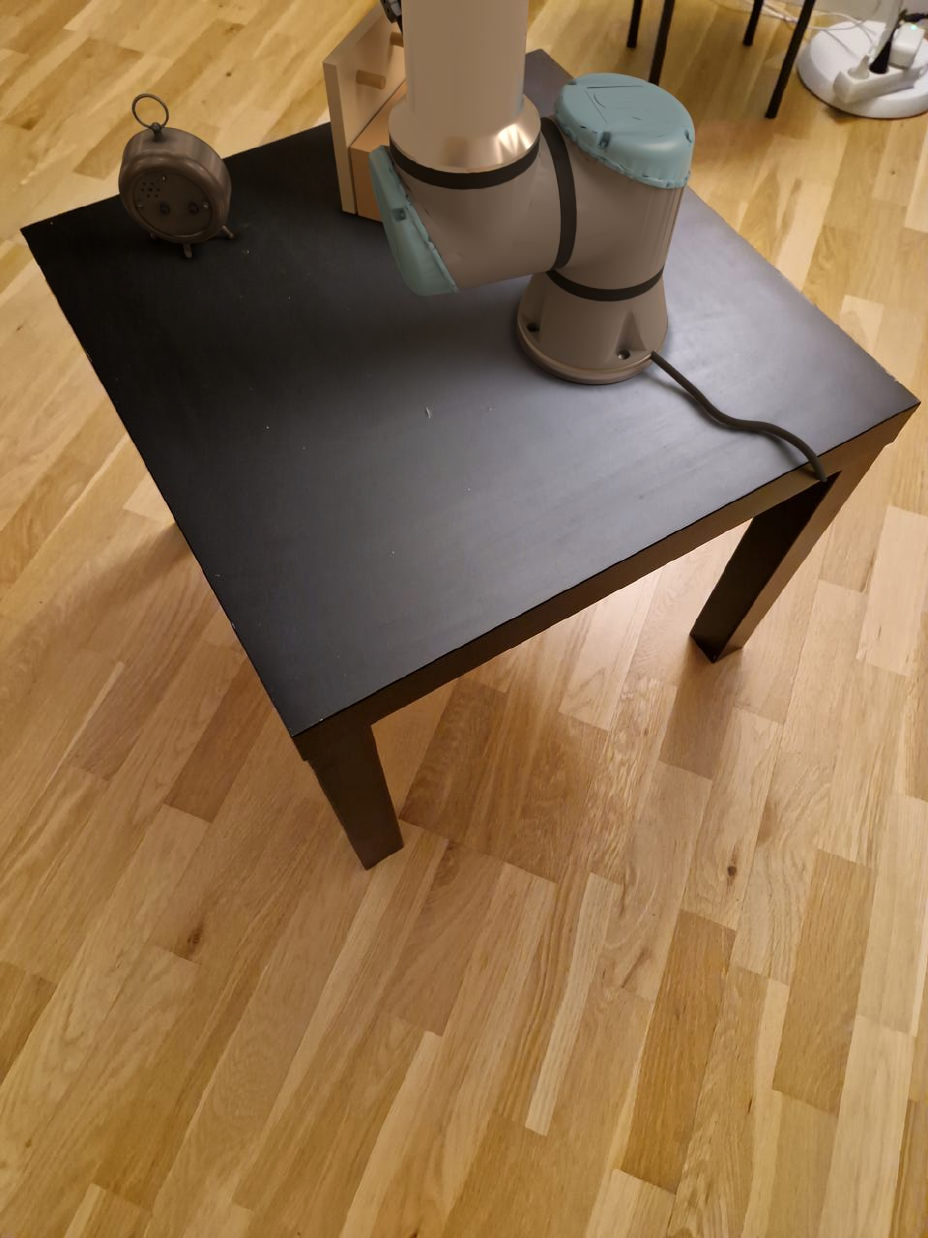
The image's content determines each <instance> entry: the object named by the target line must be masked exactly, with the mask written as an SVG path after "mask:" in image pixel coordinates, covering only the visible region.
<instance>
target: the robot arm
mask: <svg viewBox="0 0 928 1238" xmlns="http://www.w3.org/2000/svg"><path fill="white" fill-rule="evenodd" d="M380 2H381V4H382V6H383V9H384V11H385V14H386V16H387V19H388V20H389V21H390V22H391V23H395V22H397V24H398V26H399V29H400V31H401V33H402V36H403V43H404V61H405V79H406V93H405V94H404V95H403V96H402V97H401V98H400V99H399V100H398V102H397V103H396V104H395V105H394V107H393V108H392V110H391V112H390V115H389V123H388V130H389V143H390V144H389V146H386V145H380V146H379V147H378V148H376V149H374V150H372V151H371V152H370V154H369V171H370V176H371V181H372V185H373V189H374V193H375V197H376V201H377V205H378V208H379V212H380V215H381V219H382V222H381V223H382V225H383V228H384V232H385V235H386V238H387V241H388V244H389V247H390V250H391V253H392V256H393V258H394V261H395V263H396V266H397V269H398V271H399V273H400V276H401V278H402V280H403V282H404V283H405V285H406V286H407V288H408V289H409V290H410V291H411V292H413V293H415V294H416V295H418V296H423V297H429V296H436V295H444V294H449V293H451V294H452V293H454V294H460V293H461V292H462V291H464V290H469V289H472V288H476V287H481V286H487V285H490V284H494V283H499V282H503V281H508V280H512V279H517V278H521V277H525V276H526V277H527V276H531V275H532V276H531V278H530V280H529V282H528V284H527V286H526V288H525V290H524V292H523V294H522V295H521V298H520V300H519V303H518V307H517V315H516V316H517V318H516V335H517V339H518V342H519V344H520V346H521V348H522V350H523V351H524V353H525V355H526V356H528V358H529V359H530V360H531V361H532V362H533V363H534V364H535V365H537V366H538V367H539V368H541V369H542V370H544V371H546V372H547V373H549V374H551V375H553V376H556V377H558V378H560V379H564V380H566V381H570V382H575V383H580V384H587V385H605V384H613V383H617V382H621V381H626V380H628V379H631V378H634V377H635V376H637V375H639V374H641V373H643V372H644V371H646V370H647V369H648V368H650V366H652V364H655V365H656V366H657V367H659V368H660V369H661V370H662V371H663V372H665V373H666V374H667V375H668V376H669V377H670V378H671V379H673V380H674V382H676V383H677V384H678V385H679V386H681V387H682V388H683V389H684V390H685V391H686V392H687V393H688V394H690V396H691V397H693V398H694V400H696V401H697V402H698V404H699V405H700V406H701V407H702V409H704V411H706V413H708V414H709V415H710V416H711V417H712V418H713V419H715V420H717V421H718V422H720V423H721V424H723V425H725V426H729V427H730V428H731V427H732V428H736V429H742V430H752V431H761V432H766V433H769V434H772V435H774V436H775V437H778V438H780V439H781V440H783V441H785V442H787V443H789V444H790V445H792V447H795V448H796V449H797V450H798V451H800V452H801V454H802V455H803V456H804V457H805V458H806V459H807V461H808V462H809V464H810V466H811V468H812V469H813V472H814V474H815V477H816V479H817V480H818V481H819V482H822V483H826V482H827V481H828V477H827V473H826V472H825V469H824V466H823V465H822V462H821V461H820V458H819V457H818V455H817V454H816V452H815V451H814V450H813V449H812V447H810V445H808V444H807V443H806V442H805V441H804V440H802V439H801V438H800V437H798V436H797V435H795V434H793V432H790V431H789V430H787V429H785V428H783V427H780V426H779V425H776V424H773V423H771V422H767V421H760V420H751V419H750V420H749V419H740V418H736V417H733V416H730V415H727V414H726V413H724V412H722V411H721V410H720V409H718V408H717V407H716V406H714V404H712V402H711V401H710V400H709V399H708V398H707V396H705V395H704V393H703V392H701V390H700V389H698V388H697V386H695V385H694V384H693V383H692V382H691V381H690V380H688V378H686V377H685V376H684V375H683V374H682V373H680V372H679V371H678V370H677V369H676V368H675V367H674V366H673V365H672V364H670V362H668V361H667V360H666V359H664V357H663V356H661V355H660V354H661V352H662V349H663V347H664V344H665V341H666V336H667V333H668V329H669V315H668V308H667V301H666V299H667V298H666V292H665V284H664V283H665V282H664V275H663V274H664V271H665V266H666V262H667V258H668V254H669V250H670V246H671V242H672V239H673V235H674V232H675V228H676V223H677V219H678V215H679V212H680V207H681V204H682V200H683V196H684V192H685V188H686V185H687V184H688V183H689V180H690V178H691V168H692V167H691V166H692V161H693V154H694V149H695V148H694V147H695V143H696V142H695V141H696V130H695V125H694V122H693V119H692V116H691V115H690V113H689V112H688V110H687V108H686V107H685V106H684V104H683V103H681V101H679V100H678V99H677V98H676V97H675V96H674V95H673V94H671V93H670V92H668V91H667V90H665V89H664V88H661V86H657V84H654V83H651V82H649V81H646V80H644V79H641V78H638V77H635V76H633V75H632V76H631V75H628V74H621V73H615V72H592V73H586V74H581V75H578V76H576V77H574V78H572V79H570V80H568V82H567V83H566V84H565V85H563V86H562V87H561V88H560V89H559V91H558V93H557V96H556V98H555V100H554V102H553V107H552V109H553V110H552V111H553V114H552V115H546V116H542V117H540V114H539V111H538V109H537V107H536V105H535V104H534V103H533V102H532V101H531V100H530V98H528V97H527V95H526V94H524V83H525V69H526V53H527V52H526V51H527V38H528V37H527V36H528V22H529V6H530V5H529V4H530V0H380Z"/></svg>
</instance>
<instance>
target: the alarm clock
mask: <svg viewBox="0 0 928 1238" xmlns="http://www.w3.org/2000/svg"><path fill="white" fill-rule="evenodd" d="M144 98H150V99H153V100H155V101H157V102H158V103H159V105H160V106H162V108H163V109H164V111H165V120H164V122H163V123H162V124H161V123H159V122H158V121H154V122H152V123H151V124H150V125H149V124H146V123H145V122H144V121H142V120H141V119H140V117H139V116H138V114H137V112H136V107H137V104H138V102H139V101H140V100H141V99H144ZM131 112H132V114H133V116H134V118H135V120H136V121H137V122H138V123H139V124H140V125H141V126H143V127H144V128H145V129H143V130H141V131H139V132H137V133H135V134H134V135H133V136H131V138H130V139H129V140H128V141H127V143H126V145H125V147H124V149H123V151H122V156H121V161H120V162H121V163H120V168H119V172H118V178H117V187H118V193H119V197H120V200H121V202H122V204H123V206H124V208H125V209H126V211H127V212H128V214H129V215H130V217H131V218H132V219H133V220H134V221H135V222H136V223H137V224H138V225H139V226H140V227H141V228H143V229H144V230H146V231H147V232H148V233H150V237H151V239H152V240H156V239H157V238H160V239H162V240H165V241H168V242H171V243H177V244H181V245H182V248H183V251H184V255H185V256H186V258H192V250H191V249H192V248H191V245H192V244H199V243H202V242H205V241H208V240H210V239H212V238H213V237H214V236H216V235H217V234H218V233H219V232H220V233H223V234H225V235H226V236H227V238H228V239H230V240H232V239H233V238H234V234H233V233H232V232H230V230H229V229H228V227H227V226H225V225H226V222H227V220H228V216H229V211H230V203H231V197H232V196H231V195H232V181H231V175H230V172H229V169H228V168H227V166H226V164H225V162H224V160H223V159H222V157H221V156H220V154H218V152H217V151H216V150H215V149H214V148H213V147H212V146H211V145H209V143H207V142H206V141H205V140H203V139H201V138H200V137H198V136H196V135H195V134H193V133H191V132H189V131H186V130H183V129H181V128H176V127H172V126H171V127H170V126H167V124H168V122H169V119H170V112H169V108H168V106H167V104H166V103H165V102H164V101H163V100H162V99H161V98H160V97H159V96H156V95H154V94H152V93H140V94H138V95H137V96H135V98H134V99H133V101H132V102H131Z"/></svg>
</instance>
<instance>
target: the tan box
mask: <svg viewBox="0 0 928 1238" xmlns="http://www.w3.org/2000/svg"><path fill="white" fill-rule="evenodd" d="M321 63H322V70H323V76H324V77H323V78H324V85H325V92H326V100H327V106H328V113H329V121H330V127H331V128H330V129H331V133H332V134H331V135H332V143H333V150H334V157H335V164H336V172H337V179H338V186H339V193H340V200H341V208H342V211H343V212H346V213H350V214H353V215H356V214H357V215H358V216H360V217H364V218H367V219H370V220H374V221H378V222H380V223H383V222H382V219H381V215H380V212H379V208H378V205H377V201H376V197H375V193H374V189H373V185H372V181H371V176H370V171H369V154H370V152H371V151H372V150H374V149H376V148H378V147H379V146H380V145H386V146H389V144H390V143H389V130H388V123H389V115H390V112H391V110H392V108H393V107H394V105H395V104H396V103H397V102H398V100H399V99H400V98H401V97H402V96H403V95H404V94H405V93H406V79H405V61H404V43H403V36H402V33H401V31H400V29H399V26H398V24H397V22H395V23H391V22H390V21H389V20H388V19H387V16H386V14H385V11H384V9H383V6H382V4H381V2H380V0H378V1H377V2H376V3H375V5H374V6H373V7H371V9H369V11H368V12H367V13H366V14H365V15H364V16H363V18H361V19H360V20H359V22H357V24H356V25H355V26H354V27H353V28H352V29H351V30H350V31H349V32H348V34H346V36H345V37H344V38H343V39H342V40H341V41H340V42H339V43H337V45H336V46H335V47H334V49H332V51H330V52H329V54H328V55H327V56H326V57H325V58H324V59H323V61H322V62H321Z"/></svg>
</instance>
